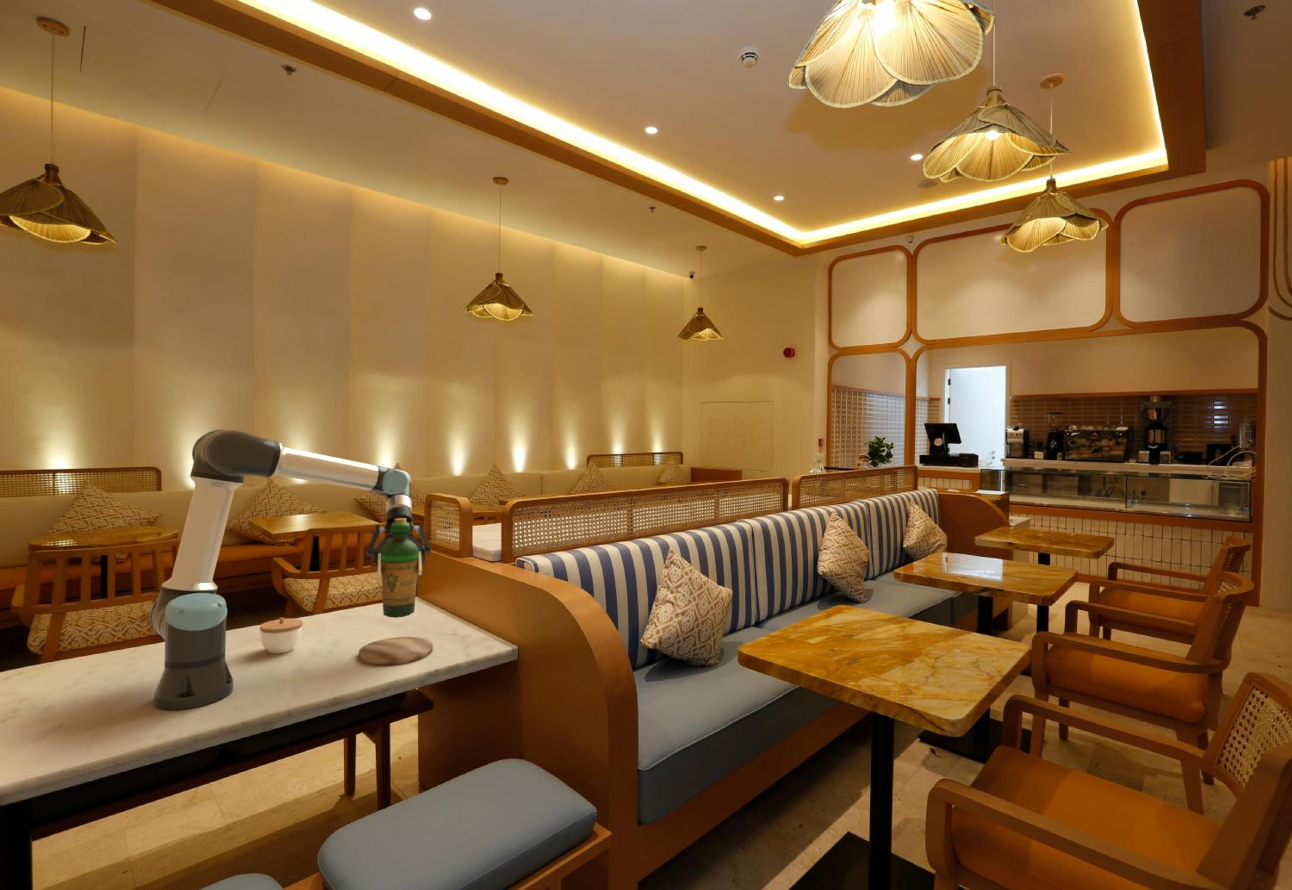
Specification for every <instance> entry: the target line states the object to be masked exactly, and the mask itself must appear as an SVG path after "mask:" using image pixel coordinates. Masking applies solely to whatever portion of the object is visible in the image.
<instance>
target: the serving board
mask: <svg viewBox="0 0 1292 890" xmlns="http://www.w3.org/2000/svg"><path fill="white" fill-rule="evenodd" d="M433 645H434V644H433V642H432V641H431V640H429V639H427V638H422V637H417V636H416V637H415V636H398V637H396V636H395V637H390V638H384V639H380V640H375V641H372V642H370V643H367V644H365V645H363V646H362V647H361V648H360V649H359V650H358V659H359V661H360V662H362V663H364V664H367V665H371V666H384V667H385V666H397V665H404V664H410V663H414V662H417V661H420V660H422V659H425V658H426V657H429V656H430V655H431V654H432V653H433V650H434V646H433Z"/></svg>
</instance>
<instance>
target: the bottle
mask: <svg viewBox="0 0 1292 890" xmlns="http://www.w3.org/2000/svg"><path fill="white" fill-rule="evenodd" d="M409 531H410V526H409V523H407V522H406V518H397V519H395V523H392V527H391V532H393V539H392V541H390V542H388V543H387V544H385V545H384V547H383V548H382V549H381V585H382V586H381V587H382V611H383V612H382V613H383V614H382V615H383V616H384V617H388V618H393V619H394V618H395V619H396V618H397V619H398V618H405V617H407V616H410V615H412V614H414V613H415V607H416V606H415V605H416V594H417V582H418V558H419V549H418V547H417V546H416V544H415V543H414V542H412V541H410V540H407V539H408V532H409Z"/></svg>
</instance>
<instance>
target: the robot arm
mask: <svg viewBox="0 0 1292 890" xmlns="http://www.w3.org/2000/svg"><path fill="white" fill-rule="evenodd" d="M191 452H192V453H191V456H192V461H193V463H192V467H191V471H190V475H189V478H190V480H192V481H193V483H194V489H193V492H192V496H191V500H190V504H189V508H188V510H187V516H186V520H185V523H184V528H183V531H182V535H181V539H180V541H179V542H180V543H179V546H178V550H177V554H176V559H175V563H174V565H173V566H174V567H173V569H172V573H171V577H170V578H169V579H167V580H166V581H164V582H162V584H161V587H160V591H159V594H158V598H156V600H155V601H154V602H153V604H152V606H151V608H150V612H149V622H150V625H151V627H152V629H153V631H155V632H156V633H157V634H158V635H159V636H161V638H163V640H164V669H163V671H162V674H161V677H160V680H159V681H158V685H157V686H156V689H155V691H154V694H153V695H154V696H153V705H154V707H156V708H157V709H161V710H170V711H171V710H172V711H173V710H174V711H175V710H185V709H192V708H198V707H201V706H205V705H210V704H212V703H215V702H217V701H220V700H222V699H224V698H226V697H228V696H229V695H231V694H232V693H233V691H234V679H233V676H232V673H231V671H230V668H229V666H228V663H227V660H226V646H227V645H226V643H227V636H226V635H227V634H226V633H227V615H228V608H227V602H226V600H225V599H226V598H224V597H223V596H221V595H219V594H217V591H218V585H217V584H216V583H215V582H214V581H213V579H214V576H215V575H214V574H215V570H216V567H217V562H218V559H219V554H220V552H221V551H220V550H221V546H222V543H223V540H224V539H223V538H224V535H225V531H226V527H227V521H228V519H229V514H230V509H231V507H232V503H233V498H234V494H235V490H236V489H238V488H239V487H241V486H243V485H244V482H245V477H246V476H247V477H248V476H249V477H261V478H268V479H270V478H273V477H274V476H279V477H286V478H292V479H297V480H303V481H304V480H305V481H309V482H315V483H320V484H321V483H322V484H328V485H335V486H340V487H344V488H345V487H347V488H351V489H359V490H363V491H367V492H370V493H373V494H375V495H378V496H381V497H384V498H385V507H386V508H385V513H386V514H385V525H384V526H380V525H379V524H377V525H375V526H374V533H373V536H372V538H371V540H370V543H369V545H368V547H367V550H366V556H367V557H369V558H370V557H372V558H373V567H375V568H376V567H377V578H379V579H380V578H381V579H382V567H381V549H382V548H383V547H384V545H385V544H387V543H388V542H390V541H392V540H393V532H391V527H392V523H395V519H397V518H406V522H407V523H409V526H410V531H409V532H408V539H407V540H410V541H412V542H414V543H415V544H416V546H417V547H418V549H419V558H418V570H417V572H418V576H421V575H422V574H423V573H422V572H423V565H424V564H425V563H426V555H427V554H428V555H429V554H431V553H432V545H431V543H430V541H429V540H428V537H427V535H426V533H425V531H424V524H423V523H419V524H418V525H414V524H413V523H414V522H413V504H412V489H413V488H412V487H413V485H412V480H411V479H412V478H411V475H410V474H409V473H408V472H407V471H405V470H401V469H398V468H391V467H386V466H385V467H384V466H380V465H375V464H372V463H371V464H370V463H366V462H361V461H356V460H355V461H354V460H352V459H351V460H350V459H346V458H341V457H336V456H331V455H326V454H320V453H316V452H311V451H306V450H301V449H295V448H292V447H291V448H290V447H286V446H283V445H282V443H281V442H280V441H276V440H272V439H267V438H264V437H260V436H257V435H254V434H252V433H248V432H245V431H242V430H236V429H214V430H211V431H208V432H206V433H205V434H203V435H201V436H200V437H199V438H198V439H197V440H196V441H195V443H193V447H192V451H191ZM414 531H415V532H416V534H418V536H419V539H420V541H421V543H420V541H419V540H418V538H416V536H415V535H414V533H413V532H414ZM383 532H385V535H386V536H384V538H382V540H381V542H380V543H379V544H378V545H377V543H378V542H379V538H380V536H381V535H382V534H383ZM376 546H377V547H376ZM375 547H376V548H375Z"/></svg>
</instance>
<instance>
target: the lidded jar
mask: <svg viewBox="0 0 1292 890" xmlns="http://www.w3.org/2000/svg"><path fill="white" fill-rule="evenodd" d="M259 630H260V633H259V634H260V635H259V636H260V637H259V638H260V642H261V644H262V646H263V648H264V649H266V650H267V651H268V653H269V654H283V653H288V652H290V651H293V649H294V648H295V647H296V646H297V645H298V644H299V641H300V640H301V638H302V637H301V636H302V632H303V620H302V619H299V618H284V617H280V618H279V619H275V620H274V619H273V620H269V621H266V622H264V623H261V625H260V626H259Z"/></svg>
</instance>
